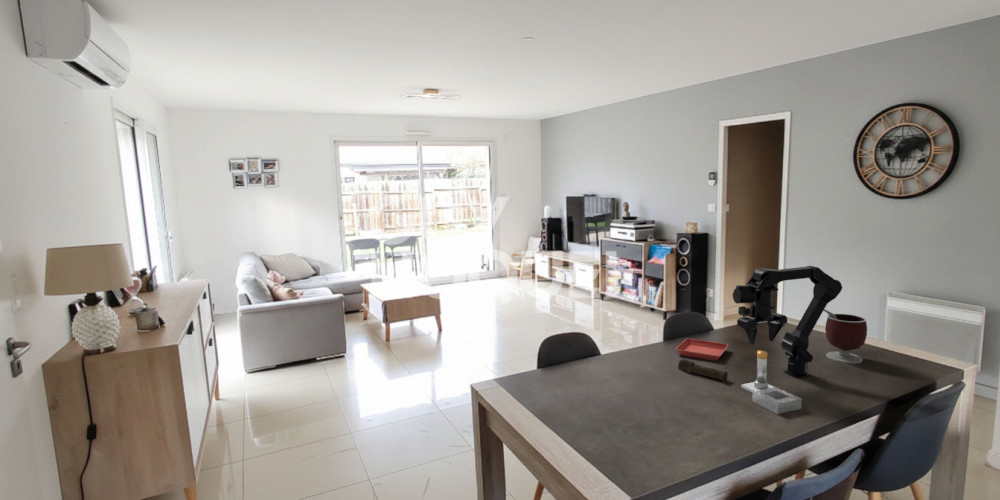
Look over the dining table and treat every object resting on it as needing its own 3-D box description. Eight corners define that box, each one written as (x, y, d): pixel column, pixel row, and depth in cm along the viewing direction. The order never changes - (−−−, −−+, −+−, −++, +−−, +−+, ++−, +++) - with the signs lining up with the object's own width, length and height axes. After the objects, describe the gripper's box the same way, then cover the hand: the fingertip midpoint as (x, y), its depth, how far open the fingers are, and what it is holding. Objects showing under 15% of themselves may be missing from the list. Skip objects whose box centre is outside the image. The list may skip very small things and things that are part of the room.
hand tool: (728, 380, 184) (728, 368, 183) (723, 383, 182) (723, 371, 181) (682, 367, 199) (682, 356, 198) (676, 370, 196) (676, 358, 196)
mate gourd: (863, 355, 204) (866, 308, 202) (866, 366, 193) (869, 316, 190) (819, 349, 213) (821, 304, 210) (819, 360, 201) (822, 312, 199)
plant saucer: (686, 344, 226) (686, 337, 226) (728, 351, 216) (729, 343, 215) (675, 356, 212) (675, 348, 211) (719, 364, 201) (720, 356, 201)
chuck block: (775, 396, 169) (775, 386, 168) (801, 408, 159) (801, 398, 159) (752, 401, 166) (752, 391, 165) (777, 414, 156) (777, 403, 156)
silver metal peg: (763, 384, 177) (764, 349, 175) (770, 389, 172) (772, 353, 171) (751, 385, 177) (752, 350, 175) (758, 390, 172) (759, 354, 170)
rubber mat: (760, 383, 180) (760, 380, 180) (781, 392, 172) (781, 390, 172) (741, 387, 177) (741, 384, 177) (761, 397, 169) (761, 394, 169)
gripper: (764, 295, 194) (763, 333, 196) (726, 300, 188) (725, 339, 190) (789, 301, 183) (787, 342, 185) (749, 306, 178) (748, 348, 180)
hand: (761, 342), depth 185 cm, fingers open, 9 cm apart
